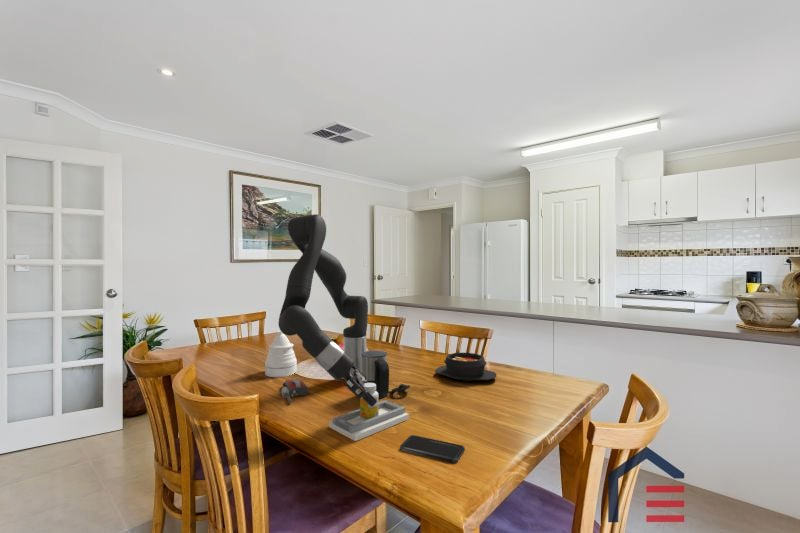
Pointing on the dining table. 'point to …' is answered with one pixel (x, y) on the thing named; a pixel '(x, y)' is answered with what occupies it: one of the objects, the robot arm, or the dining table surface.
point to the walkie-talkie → (294, 388)
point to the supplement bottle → (365, 408)
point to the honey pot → (280, 357)
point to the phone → (433, 448)
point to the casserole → (465, 367)
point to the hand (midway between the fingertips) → (374, 398)
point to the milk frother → (378, 372)
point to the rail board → (369, 421)
